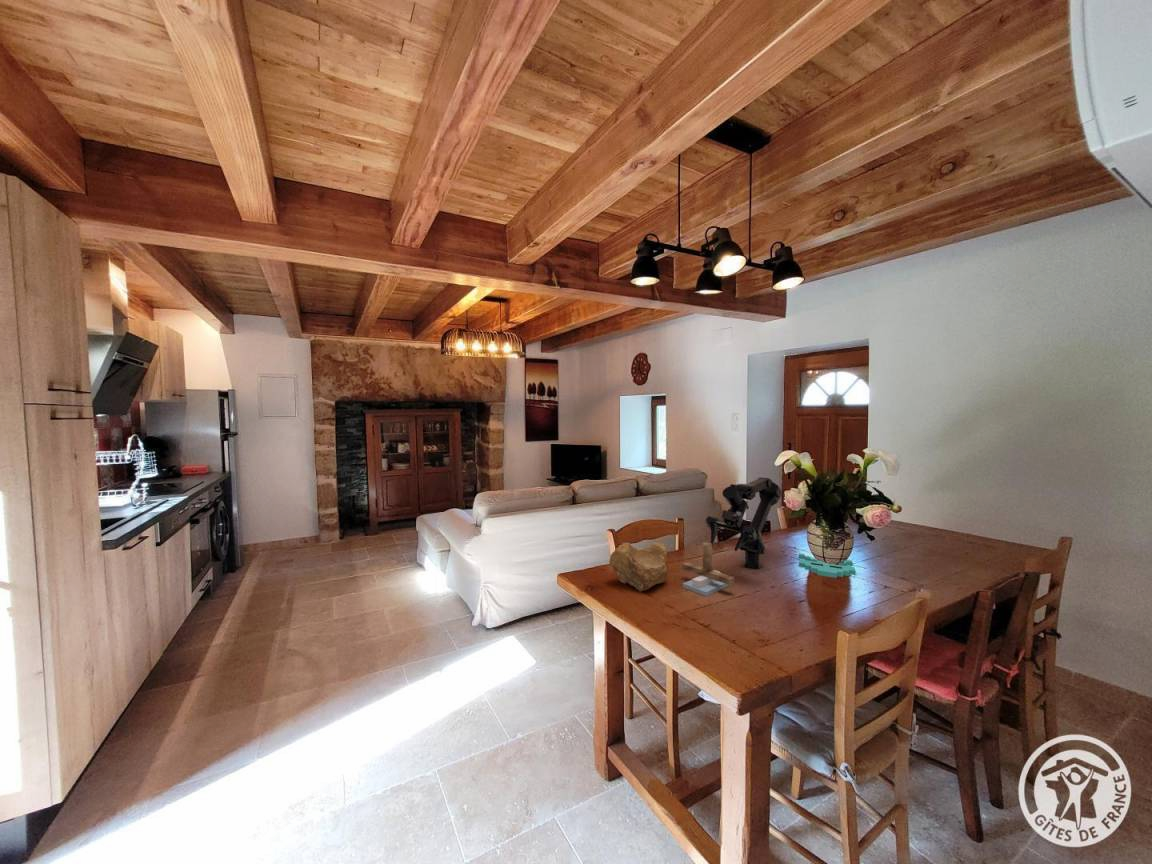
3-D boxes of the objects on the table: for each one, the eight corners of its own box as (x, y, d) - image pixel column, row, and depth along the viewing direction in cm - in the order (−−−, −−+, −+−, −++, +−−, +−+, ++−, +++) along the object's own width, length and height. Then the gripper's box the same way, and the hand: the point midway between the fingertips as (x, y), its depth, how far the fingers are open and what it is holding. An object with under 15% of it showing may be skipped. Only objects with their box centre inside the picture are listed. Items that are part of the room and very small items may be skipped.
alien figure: (798, 558, 191) (798, 573, 173) (799, 553, 191) (798, 567, 173) (851, 565, 182) (857, 582, 164) (852, 560, 182) (857, 576, 164)
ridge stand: (707, 576, 168) (707, 566, 168) (730, 584, 160) (730, 574, 160) (682, 587, 158) (682, 576, 158) (706, 596, 150) (706, 585, 150)
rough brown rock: (622, 600, 149) (625, 559, 147) (604, 578, 165) (607, 541, 163) (680, 593, 157) (684, 554, 155) (658, 573, 172) (661, 537, 170)
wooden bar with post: (682, 568, 166) (682, 538, 165) (687, 567, 168) (687, 536, 167) (729, 585, 150) (729, 551, 150) (734, 582, 152) (734, 549, 152)
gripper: (709, 496, 170) (694, 530, 164) (757, 508, 158) (743, 545, 152) (715, 510, 177) (702, 543, 171) (762, 522, 166) (749, 558, 159)
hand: (723, 547), depth 163 cm, fingers open, 9 cm apart
